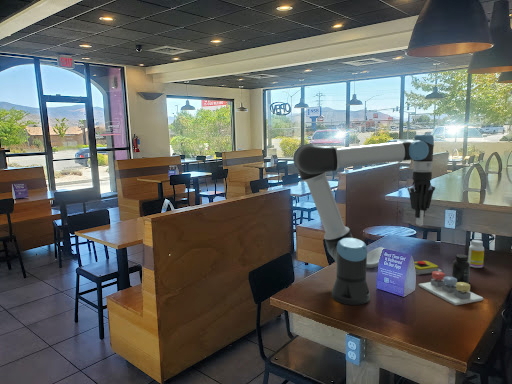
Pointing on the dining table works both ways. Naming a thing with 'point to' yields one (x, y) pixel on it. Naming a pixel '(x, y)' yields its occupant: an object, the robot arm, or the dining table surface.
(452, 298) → the console
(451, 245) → the dining table surface
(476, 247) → the supplement bottle
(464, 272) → the supplement bottle
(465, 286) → the ochre button
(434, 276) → the red button
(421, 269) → the emergency button
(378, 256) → the spoon rest
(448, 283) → the slate button
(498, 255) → the dining table surface
